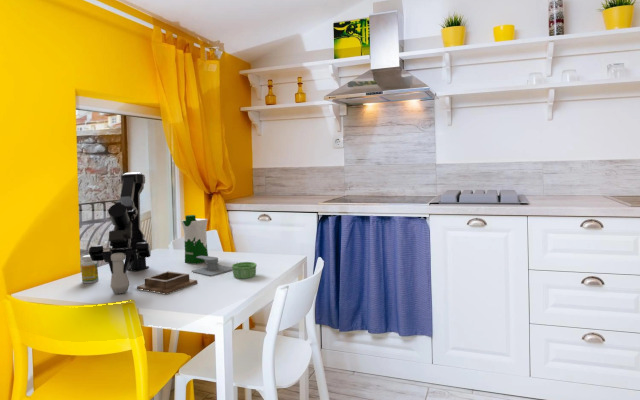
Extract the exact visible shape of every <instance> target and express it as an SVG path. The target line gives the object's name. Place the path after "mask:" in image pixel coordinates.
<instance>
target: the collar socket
mask: <svg viewBox="0 0 640 400" xmlns="http://www.w3.org/2000/svg"><path fill="white" fill-rule="evenodd" d="M143 281H144V284H140V285H137V286H136V289H137V290H138V289H143V290H142V291H144V290H149V291H148V292H150V291H155V292H154V293H156V292H160V293H159V294H162V293H165V294H164V295H168V294H167V293H169V294H171V293H173V291H174V292H177V291H178V290H179V289H180V290H182V289H184V288H189V287H190V286H194V285H195V284H198V280H196V279H190V274H189V273H184V272H178V271H177V272H176V271H171V270H170V271H169V270H167V271H164V272H161V273H157V274H155V275H151V276H148V277H145V278H144V280H143ZM176 290H177V291H176ZM170 292H171V293H170Z"/></svg>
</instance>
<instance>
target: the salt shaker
mask: <svg viewBox="0 0 640 400" xmlns="http://www.w3.org/2000/svg"><path fill="white" fill-rule="evenodd" d="M125 258H126V256H125V254H123V253H114V254H112V255H111V261H113V274H112V273H111V279H110V289H111V290H112V292H113V293H114V294H123V293H127V292H128V291H129V289H130V288H129V287H130V285H131V284H130V280H129V276H128V272H127V271H126V273H124V272H123V270H124V263H125Z"/></svg>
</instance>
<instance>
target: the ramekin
mask: <svg viewBox="0 0 640 400" xmlns="http://www.w3.org/2000/svg"><path fill="white" fill-rule="evenodd" d="M231 267H232V268H233V271H232V275H233V277H234V279H237V280H238V279H239V280H248V279H253V278H255V276H256V273H257V263H256V262H253V261H240V262H236V263H234V264H232V265H231Z"/></svg>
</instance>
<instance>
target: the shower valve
mask: <svg viewBox="0 0 640 400" xmlns="http://www.w3.org/2000/svg"><path fill="white" fill-rule="evenodd" d="M196 258H199V259H203V260H205V262H204V263H205V264H206V265H205V266H204V267H200V268H197V269H193V270H191V273H192V272H193V274H197V275H202V276H205V277H206V276H207V277H214V276H218V275H221V274H225V273H229V272H233V268H232V266H226V265H221V264H219V257H216V256H209V255H208V256H197V257H196Z"/></svg>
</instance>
